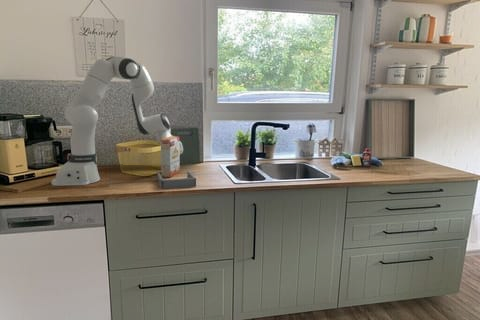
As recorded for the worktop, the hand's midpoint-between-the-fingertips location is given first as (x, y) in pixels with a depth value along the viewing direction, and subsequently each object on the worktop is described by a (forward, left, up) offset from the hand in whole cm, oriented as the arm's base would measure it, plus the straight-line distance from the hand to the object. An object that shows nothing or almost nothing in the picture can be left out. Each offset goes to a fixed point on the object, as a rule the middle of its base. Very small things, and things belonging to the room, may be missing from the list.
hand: (167, 159), depth 203 cm
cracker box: (0, -12, -6) cm, 14 cm away
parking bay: (0, -30, -6) cm, 31 cm away
